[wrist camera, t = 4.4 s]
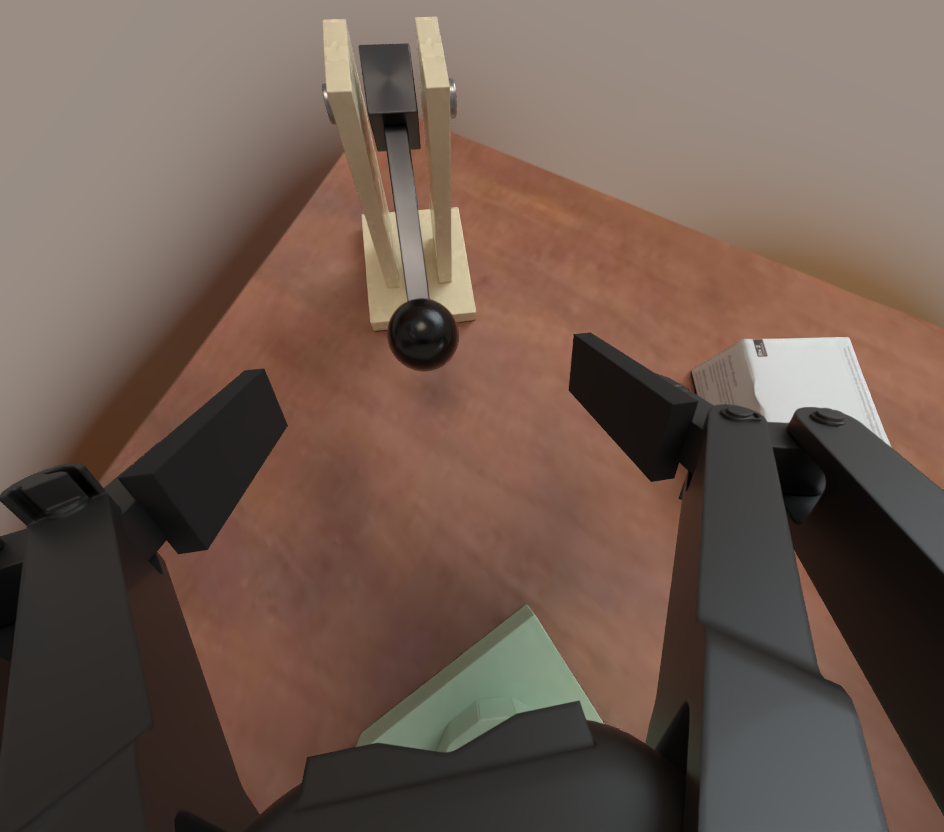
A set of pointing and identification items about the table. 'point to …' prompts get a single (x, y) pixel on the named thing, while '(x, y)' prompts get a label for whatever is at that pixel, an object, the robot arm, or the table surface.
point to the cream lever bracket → (378, 223)
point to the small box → (789, 379)
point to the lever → (405, 207)
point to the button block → (483, 690)
